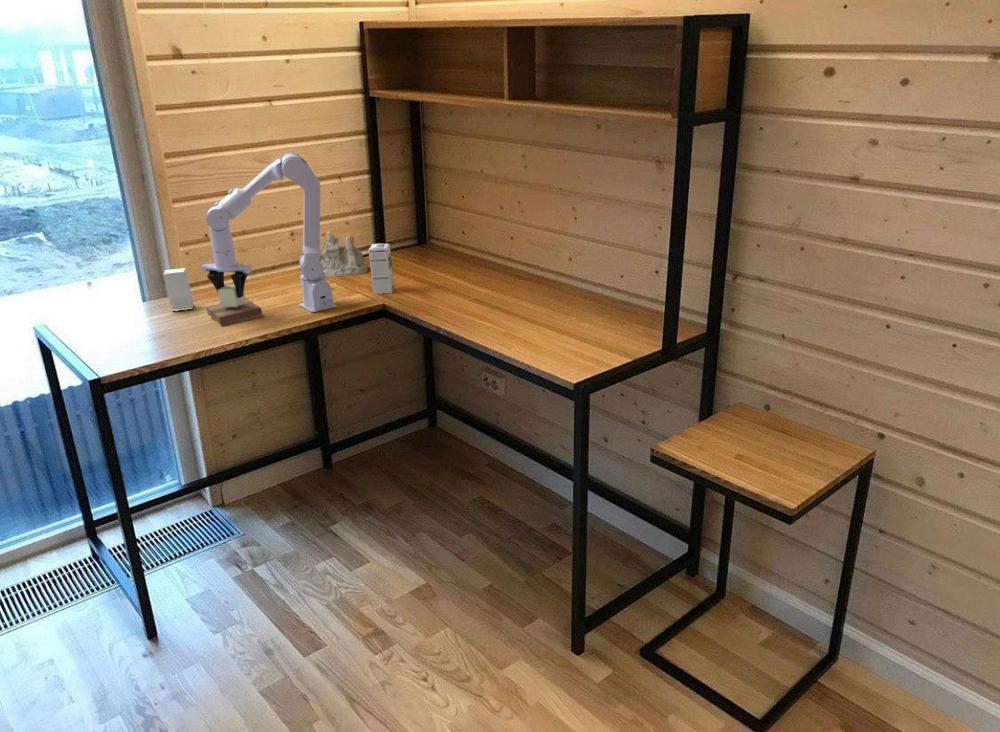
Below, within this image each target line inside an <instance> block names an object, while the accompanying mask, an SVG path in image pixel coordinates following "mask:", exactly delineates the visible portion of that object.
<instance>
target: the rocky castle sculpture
mask: <svg viewBox="0 0 1000 732" xmlns="http://www.w3.org/2000/svg"><path fill="white" fill-rule="evenodd" d="M339 240H340V239H339V237H338V236H337V237H335V236H334V234H332V232H331V231H327V238H324V239H323V244H324V245H321V247H320V248H321V249H320V250H321V262H322V264H323V268H324V270H323V272H324V273H325V276H326V277H332V278H335V277H337V278H338V277H350V275H351V276H359V274H360V275H363V274H366V273H368V271H369V270H368V267H367V263H365V262H364V261H365V260H364V258H363V257H364V255H363V252H362V250H361V251H360V249H358V248H357V247H356V246H355V245H353V243H352V237H351V236H346V237H345V244H344V245H343V243H342V242H341V243H340V241H339Z"/></svg>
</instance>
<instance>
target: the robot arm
mask: <svg viewBox="0 0 1000 732" xmlns="http://www.w3.org/2000/svg"><path fill="white" fill-rule="evenodd" d="M284 177H285V178H286V179H288V180H289V181H292V182H294V183H296V184H297V185H298V187H300V188H301V189H302V190H303V229H302V231H303V232H302V233H303V239H302V240H303V244H302V254H301V256H300V257H299V266H300V272H301V275H300V276H299V277H300V284H301V291H302V298H303V299H302V301H303V302H300V303H299V304H298V305H299V306H300V307H302V308H303V309H305V310H306V311H308V312H310V313H316V312H322V311H325V310H328V309H333V308H336V307H337V304H335V303H334V299H333V291H332V287H331V284H330V283H329V282H328V281H327V278H326V277H327V276H325V273H324V272H323V270H324V268H323V264H322V257H321V249H320V248H321V247H320V245H321V243H320V239H321V182H320V181H319V179H318V177H317V176H316V175H315V173H314V172H313V170H312V169H311V166H310V165H309V164H308V162H307V161H306V160H305V159H304V158H303V157H302V156H300V155H299V154H298V153H295V152H287V153H285V154H283V155H282V157H281V158H277V159H276V160H274V161H273V162H272V163H270V164H268V166H266V168H264V169H263V170H262V171H261V172H260V173H259V174H257V176H255V177H254V178H253V179H252V180H251V181H250V182H249V183H248V184H247V185H246V186H245V187H243V188H239V187H238V188H237V187H236V188H235V189H231V188H230V189H229V190H228V192H227V195H226V196H225V197H224V198H223V199H221V200H220V201H215V203H214V205H215V206H212V207H211V208H209V209H208V211H207V213H206V219H205V220H206V224H207V225H208V232H209V238H210V243H211V244H210V245H211V250H212V254H213V255H212V256H213V261H214V263H204V264H201V269H202V273H208V274H207V275H206V277H207V278H208V280H209V282H211V284H212V285H213V286H214V289H215V290H216V292H217V294H218V295H219V293H218V289H220V288H222V287H224V286H225V273H232V274H231V275H230V277H231V280H232V281H233V285H235V288H236V294H237V297H238V298H241V297H242V296H243V294H244V295H245V284H246V280H247V278H248V275H249V274H250V273H252V271H253V270H252V266H251V265H250V264H244V263H243V264H242V263H237V259H236V258H237V257H236V254H235V248H234V242H233V235H232V233H231V230H230V225H229V223H230V220H235V219H236V217H238V216H239V215H240V214H242V213H243V212H244V211H245V210H246V209H247V208H249V207H250V206H251V204H252V198H253V197H254V196H255V195H257V194H258V193H259V192H261V191H262V190H263V189H265V188H266V187H267V186H268V185H270V184H271V183H272V182H274V181H275V182H276V181H283V180H284Z"/></svg>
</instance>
